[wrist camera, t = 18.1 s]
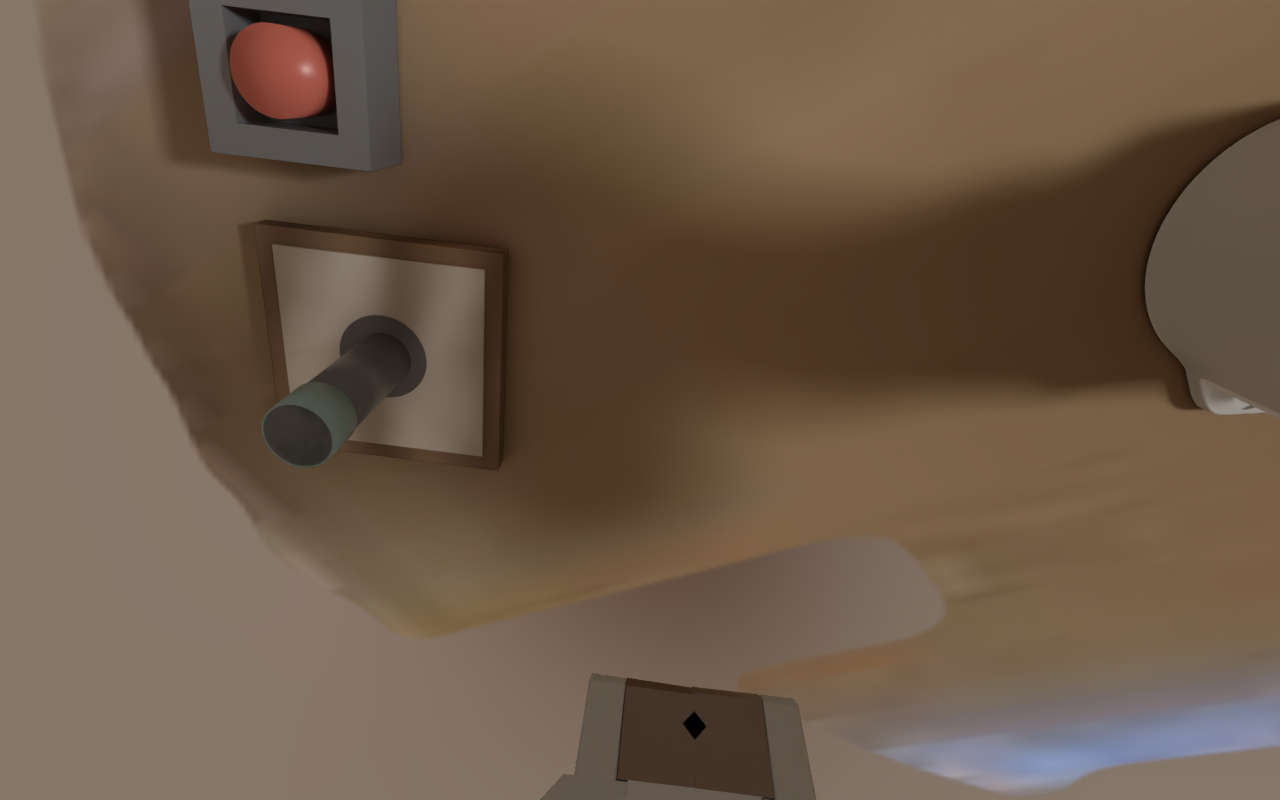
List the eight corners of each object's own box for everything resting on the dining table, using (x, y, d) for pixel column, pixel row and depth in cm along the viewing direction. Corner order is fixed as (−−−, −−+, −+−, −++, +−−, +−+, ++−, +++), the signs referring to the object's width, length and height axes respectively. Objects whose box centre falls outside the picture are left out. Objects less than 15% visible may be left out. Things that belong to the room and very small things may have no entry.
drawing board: (508, 249, 39) (502, 255, 37) (502, 461, 45) (496, 472, 43) (266, 219, 39) (251, 224, 38) (292, 435, 45) (280, 445, 43)
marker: (411, 335, 40) (331, 407, 31) (413, 388, 41) (337, 472, 32) (354, 327, 40) (256, 398, 31) (357, 381, 41) (265, 463, 32)
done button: (342, 32, 33) (311, 27, 30) (348, 121, 35) (319, 123, 32) (261, 23, 33) (223, 17, 30) (271, 111, 35) (236, 113, 32)
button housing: (395, -5, 34) (360, -17, 30) (401, 163, 37) (370, 171, 33) (236, -24, 34) (182, -38, 30) (257, 145, 37) (210, 151, 34)
